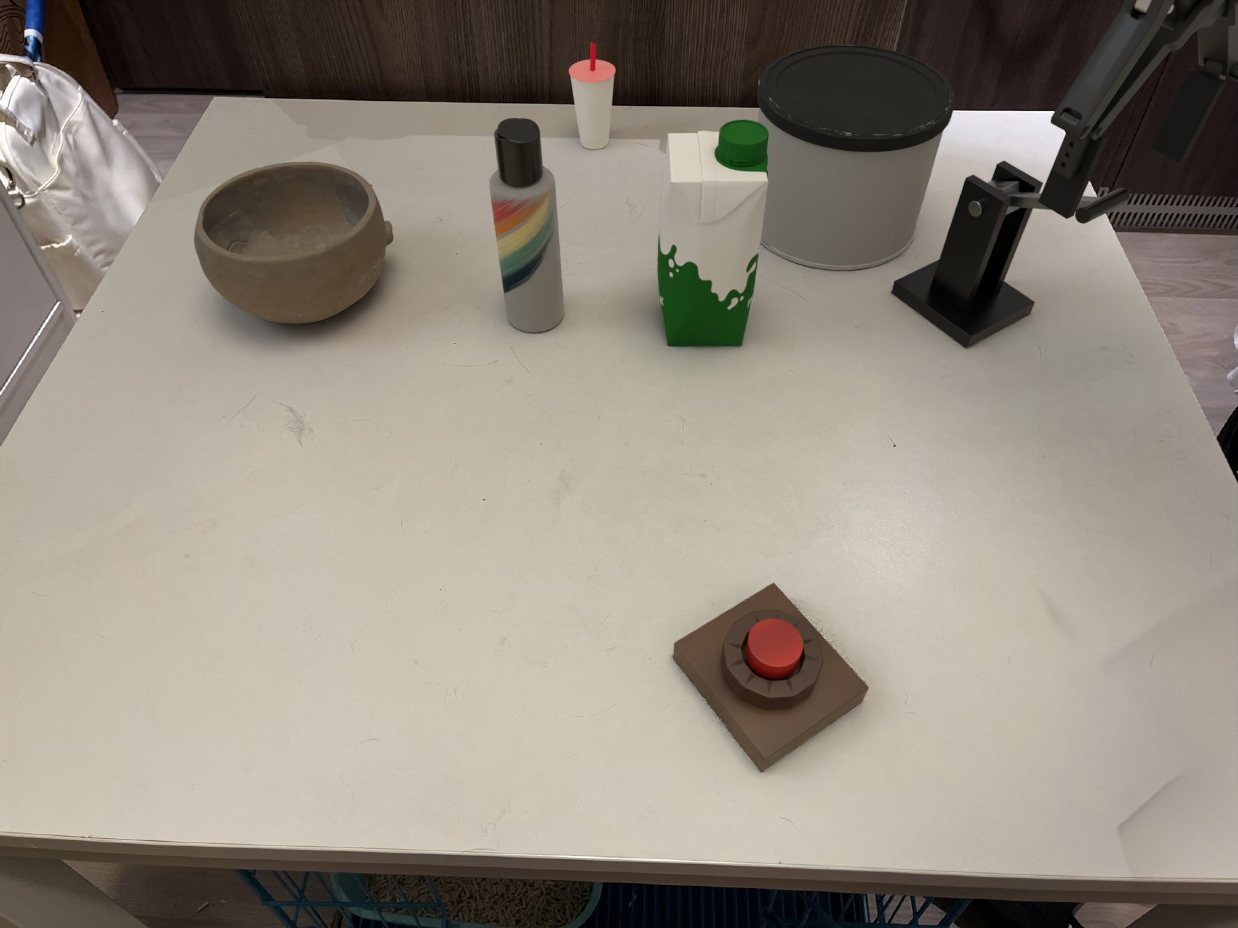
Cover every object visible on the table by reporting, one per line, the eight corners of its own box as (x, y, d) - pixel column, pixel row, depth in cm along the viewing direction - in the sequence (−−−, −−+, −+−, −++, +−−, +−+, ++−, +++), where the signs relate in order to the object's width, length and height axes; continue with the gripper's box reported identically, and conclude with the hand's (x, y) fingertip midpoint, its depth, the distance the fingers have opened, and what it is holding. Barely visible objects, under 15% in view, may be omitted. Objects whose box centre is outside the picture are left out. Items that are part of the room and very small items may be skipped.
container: (869, 295, 90) (905, 159, 78) (711, 230, 97) (722, 97, 85) (945, 207, 99) (986, 75, 88) (796, 154, 107) (816, 26, 95)
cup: (616, 130, 110) (615, 32, 101) (616, 153, 107) (615, 54, 98) (572, 130, 110) (567, 32, 101) (572, 154, 107) (566, 54, 98)
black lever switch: (1030, 314, 88) (1085, 190, 77) (966, 348, 84) (1014, 225, 74) (953, 261, 93) (995, 140, 82) (890, 292, 90) (925, 170, 79)
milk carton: (752, 352, 84) (779, 161, 69) (656, 352, 84) (662, 161, 69) (744, 293, 90) (768, 104, 75) (654, 293, 90) (660, 105, 75)
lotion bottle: (526, 290, 91) (505, 102, 75) (575, 306, 89) (563, 117, 74) (496, 323, 87) (467, 133, 72) (545, 341, 86) (527, 150, 70)
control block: (862, 701, 61) (875, 674, 58) (761, 772, 58) (768, 748, 55) (770, 597, 67) (776, 568, 64) (672, 657, 64) (674, 629, 61)
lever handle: (1130, 210, 72) (1130, 181, 71) (1089, 231, 70) (1090, 201, 69) (1004, 201, 82) (1003, 175, 81) (966, 219, 80) (964, 192, 79)
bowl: (412, 239, 96) (394, 154, 89) (379, 351, 85) (354, 265, 77) (255, 237, 97) (222, 153, 89) (200, 348, 85) (158, 263, 78)
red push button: (810, 661, 60) (814, 648, 58) (768, 689, 58) (771, 676, 57) (775, 622, 61) (779, 608, 60) (734, 647, 60) (737, 635, 59)
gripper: (1317, -184, 60) (1170, 113, 76) (1072, -108, 51) (965, 209, 67) (1433, -155, 56) (1252, 153, 72) (1189, -67, 47) (1045, 260, 63)
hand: (1113, 181), depth 70 cm, fingers open, 13 cm apart
